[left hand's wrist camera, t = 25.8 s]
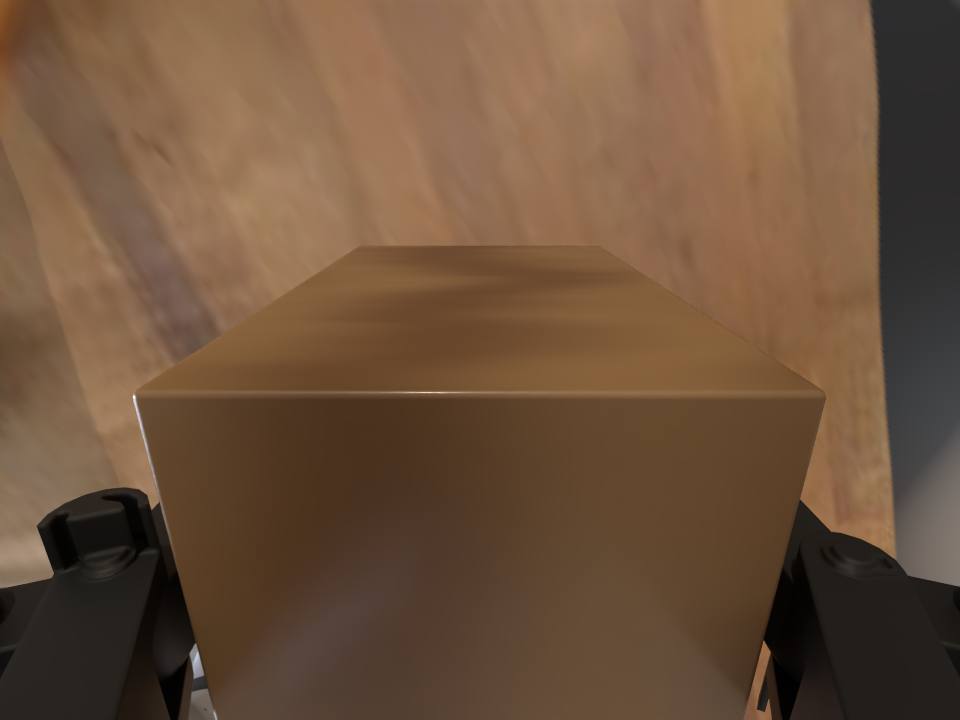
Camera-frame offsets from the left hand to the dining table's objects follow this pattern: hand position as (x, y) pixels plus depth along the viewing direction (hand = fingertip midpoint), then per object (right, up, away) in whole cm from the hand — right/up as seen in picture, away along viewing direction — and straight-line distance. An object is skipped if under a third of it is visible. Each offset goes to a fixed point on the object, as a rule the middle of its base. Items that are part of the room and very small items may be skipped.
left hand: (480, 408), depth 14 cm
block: (0, +1, +3) cm, 3 cm away
